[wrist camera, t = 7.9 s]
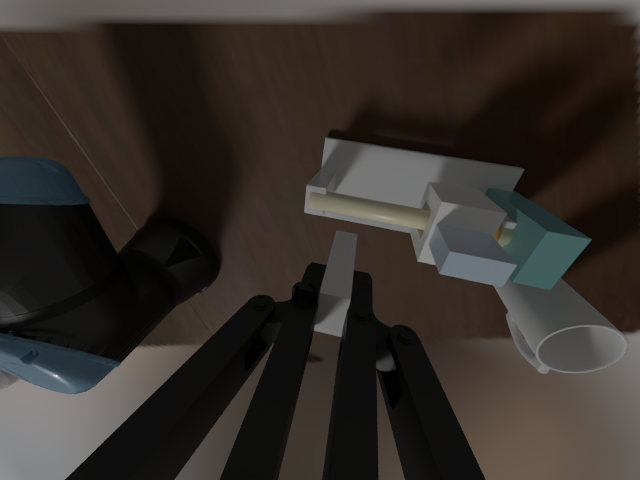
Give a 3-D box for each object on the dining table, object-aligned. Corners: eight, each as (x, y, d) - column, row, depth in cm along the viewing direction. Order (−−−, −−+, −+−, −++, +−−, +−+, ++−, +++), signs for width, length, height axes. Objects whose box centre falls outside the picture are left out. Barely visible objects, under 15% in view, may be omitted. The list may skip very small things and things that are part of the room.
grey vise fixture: (317, 211, 34) (292, 257, 24) (326, 137, 29) (299, 154, 19) (482, 244, 32) (533, 310, 21) (524, 168, 26) (617, 208, 16)
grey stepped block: (410, 232, 28) (425, 292, 19) (428, 181, 24) (457, 225, 16) (454, 240, 27) (493, 307, 18) (479, 190, 24) (539, 240, 15)
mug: (500, 248, 31) (559, 318, 21) (557, 256, 30) (649, 333, 20) (471, 304, 36) (508, 382, 26) (520, 312, 35) (578, 397, 25)
